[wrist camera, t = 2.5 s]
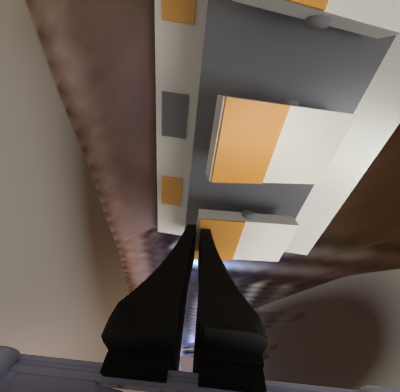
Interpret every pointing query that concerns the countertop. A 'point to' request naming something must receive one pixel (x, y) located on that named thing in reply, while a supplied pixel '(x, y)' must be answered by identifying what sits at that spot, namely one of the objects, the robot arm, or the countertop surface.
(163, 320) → the robot arm
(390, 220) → the countertop surface
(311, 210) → the switch unit
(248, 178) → the rocker
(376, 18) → the rocker
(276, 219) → the block
